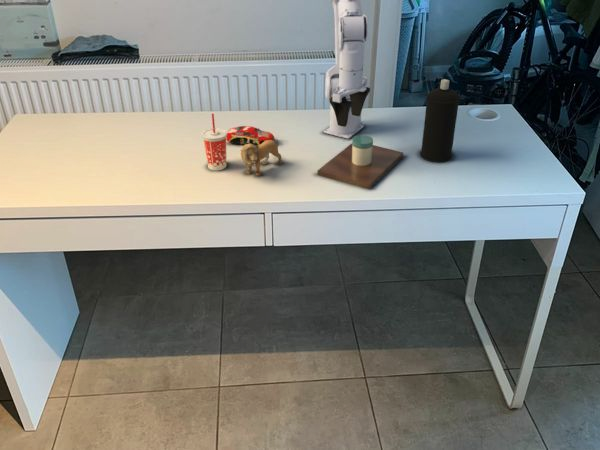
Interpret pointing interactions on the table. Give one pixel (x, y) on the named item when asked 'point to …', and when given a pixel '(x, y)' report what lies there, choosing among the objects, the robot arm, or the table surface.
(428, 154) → the aerosol can
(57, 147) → the table surface
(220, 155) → the beverage cup
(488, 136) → the table surface
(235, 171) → the table surface
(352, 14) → the robot arm
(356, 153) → the cream jar
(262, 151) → the lion figurine
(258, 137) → the race car
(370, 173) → the walnut board
